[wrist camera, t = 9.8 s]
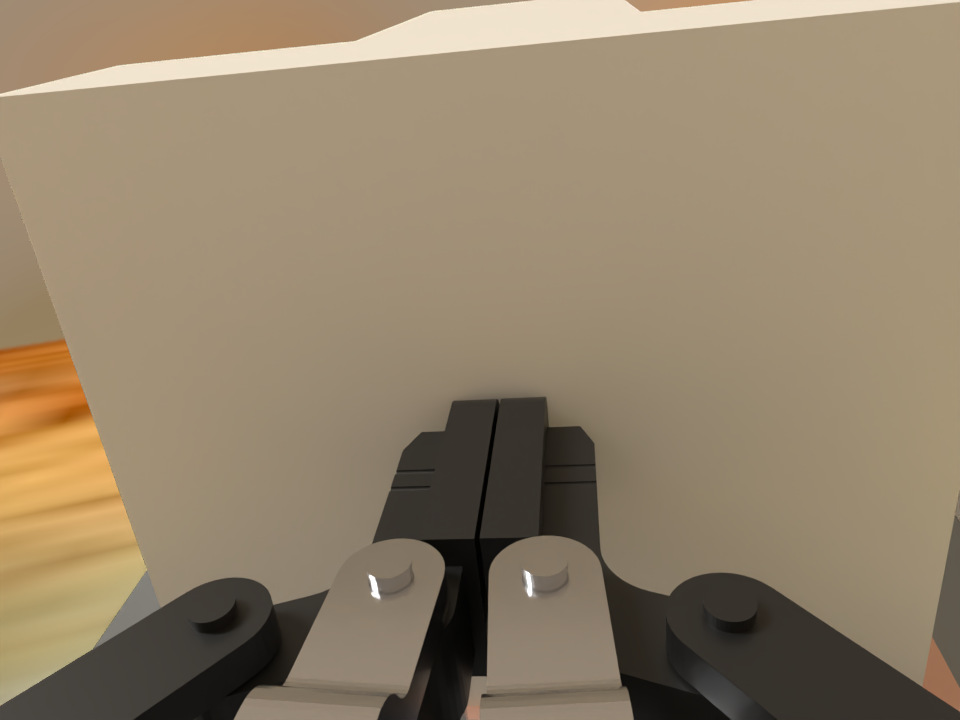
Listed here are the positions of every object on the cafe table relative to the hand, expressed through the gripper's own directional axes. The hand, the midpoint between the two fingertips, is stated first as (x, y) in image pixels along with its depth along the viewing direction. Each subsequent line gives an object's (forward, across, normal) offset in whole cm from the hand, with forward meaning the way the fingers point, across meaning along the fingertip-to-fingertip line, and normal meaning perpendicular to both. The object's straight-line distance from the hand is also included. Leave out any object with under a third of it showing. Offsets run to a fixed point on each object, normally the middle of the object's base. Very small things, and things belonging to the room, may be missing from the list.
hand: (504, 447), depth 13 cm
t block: (+6, 0, +6) cm, 9 cm away
